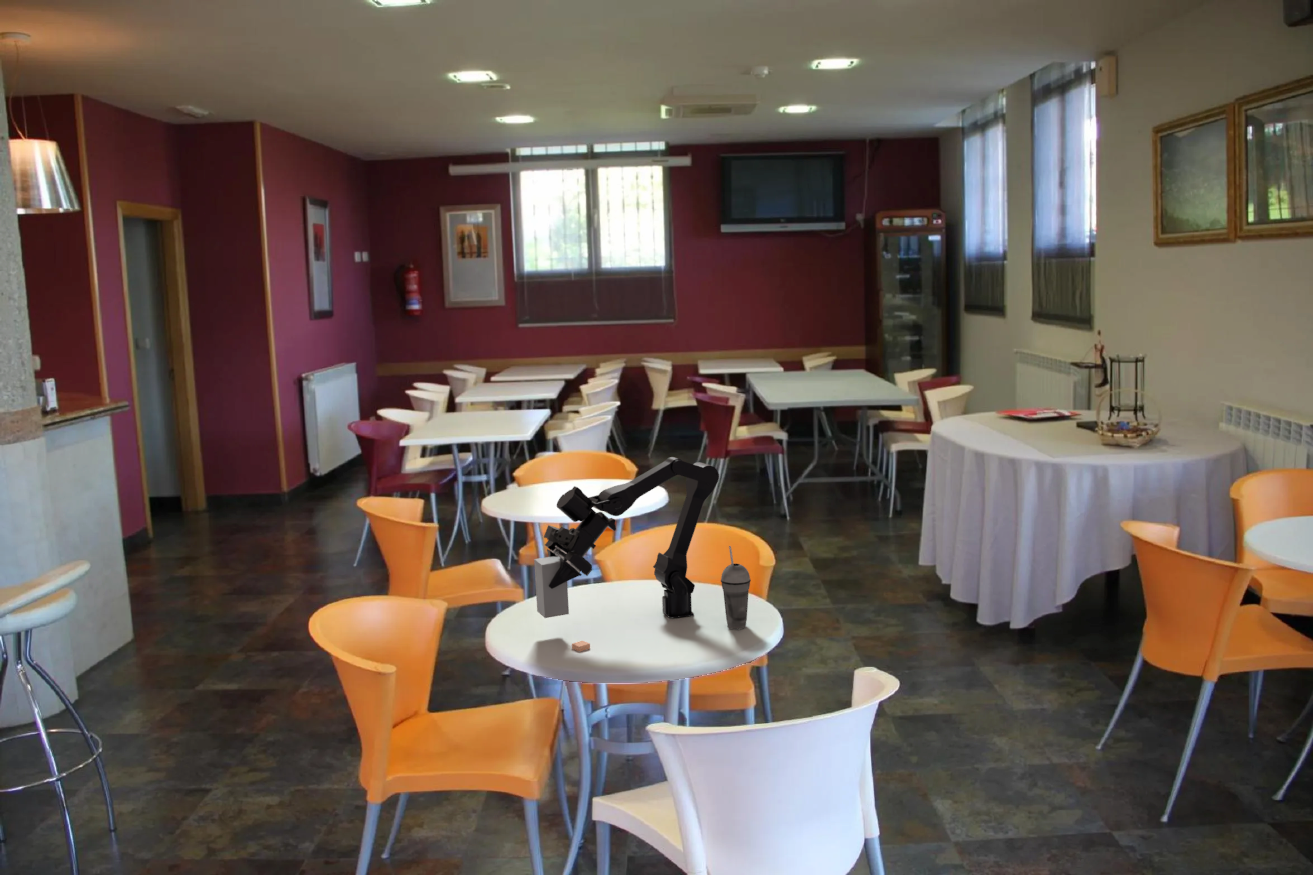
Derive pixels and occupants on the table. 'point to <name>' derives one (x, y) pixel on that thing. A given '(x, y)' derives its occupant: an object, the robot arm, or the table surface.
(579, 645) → the terracotta block
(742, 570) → the beverage cup
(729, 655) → the table surface
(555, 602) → the smooth gray cuboid
